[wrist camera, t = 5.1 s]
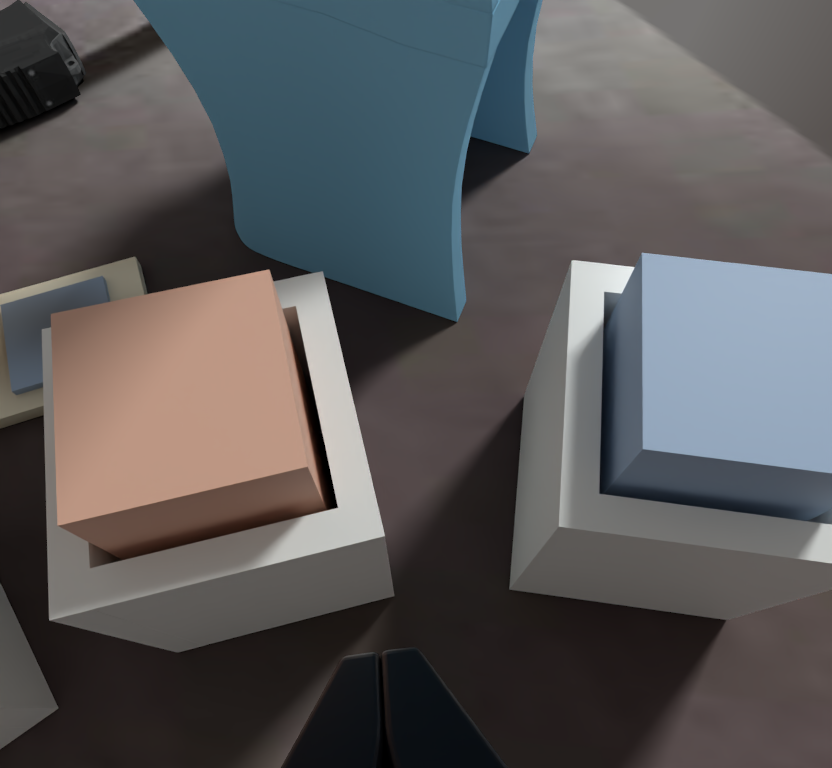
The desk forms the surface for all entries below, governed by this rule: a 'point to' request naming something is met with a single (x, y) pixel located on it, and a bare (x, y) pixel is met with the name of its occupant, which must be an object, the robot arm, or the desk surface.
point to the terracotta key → (182, 418)
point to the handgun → (34, 64)
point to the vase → (357, 125)
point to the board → (31, 312)
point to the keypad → (364, 536)
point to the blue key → (719, 388)
